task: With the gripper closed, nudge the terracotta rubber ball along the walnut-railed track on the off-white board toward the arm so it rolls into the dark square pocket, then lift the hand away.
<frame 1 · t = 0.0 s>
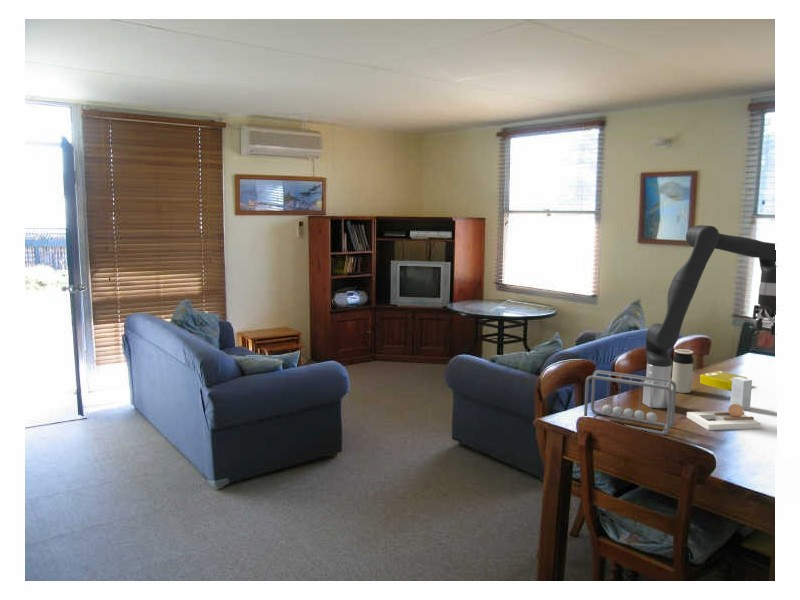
hand: (765, 332, 249), 29 cm above the table, fingers open, 8 cm apart
skincare box: (739, 408, 246), on the table
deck: (722, 422, 228), on the table
travel mug: (681, 391, 268), on the table
newton's cradle: (627, 424, 227), on the table
element tile: (723, 385, 279), on the table
ball: (735, 410, 228), point 4 cm above the table, touching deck
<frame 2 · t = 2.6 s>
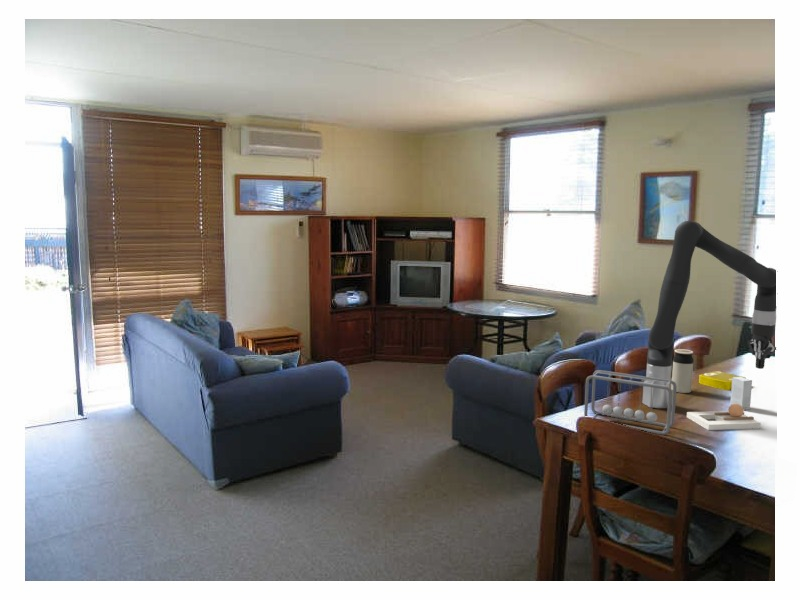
hand: (759, 368, 227), 21 cm above the table, fingers closed
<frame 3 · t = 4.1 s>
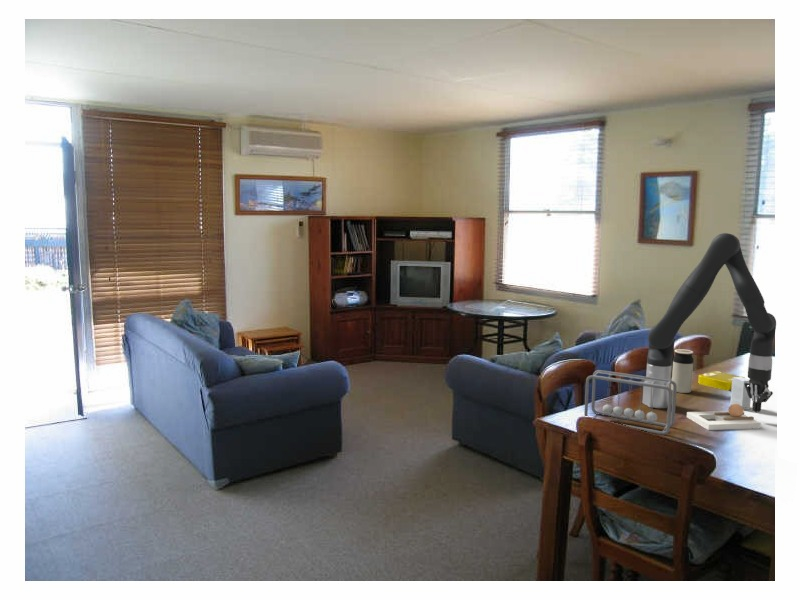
hand: (756, 411, 229), 4 cm above the table, fingers closed
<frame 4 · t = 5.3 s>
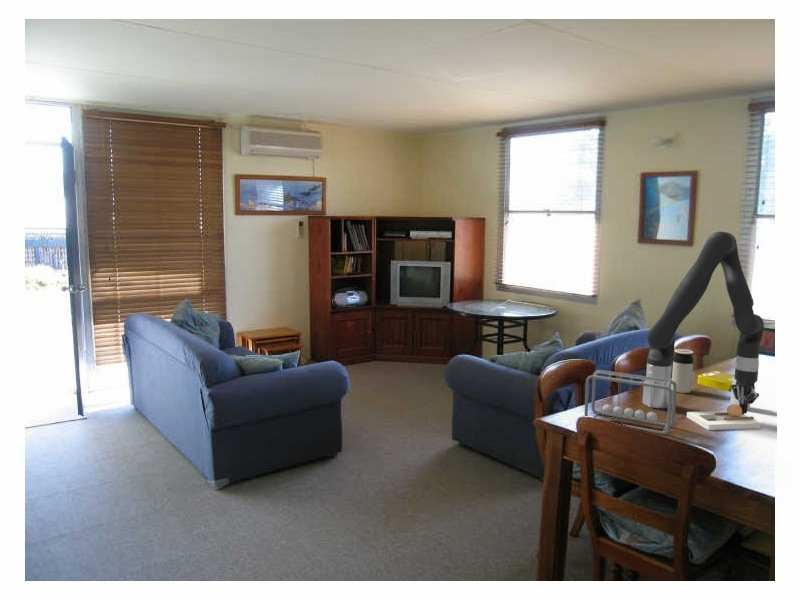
hand: (742, 412, 229), 3 cm above the table, fingers closed
ball: (734, 410, 228), point 4 cm above the table, tilted 13°, touching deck
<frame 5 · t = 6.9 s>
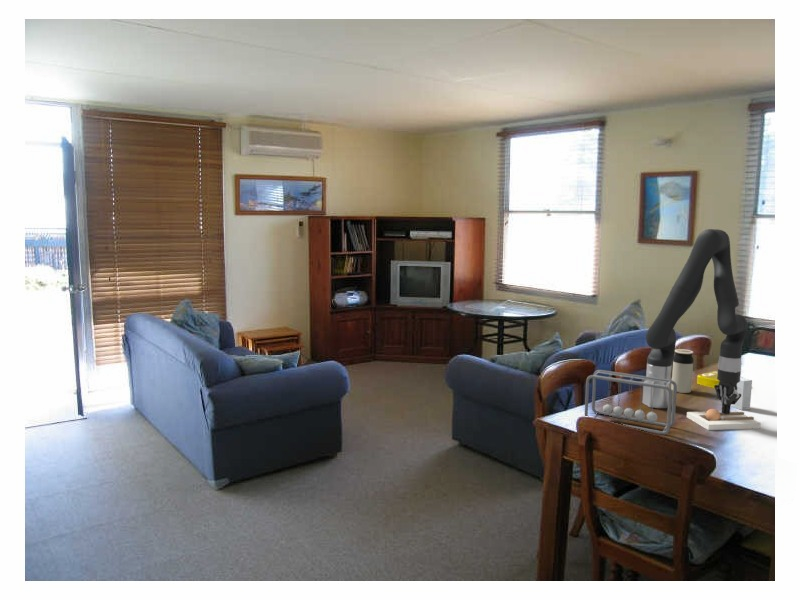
hand: (725, 413, 228), 3 cm above the table, fingers closed
ball: (712, 415, 228), point 3 cm above the table, tilted 142°, touching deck
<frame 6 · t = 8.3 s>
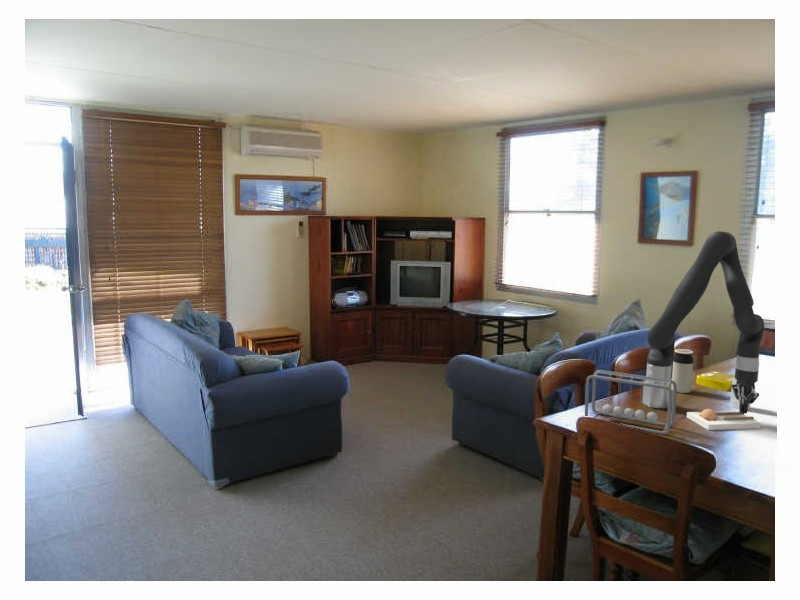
hand: (743, 412, 228), 4 cm above the table, fingers closed
ball: (708, 415, 228), point 3 cm above the table, tilted 107°, touching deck
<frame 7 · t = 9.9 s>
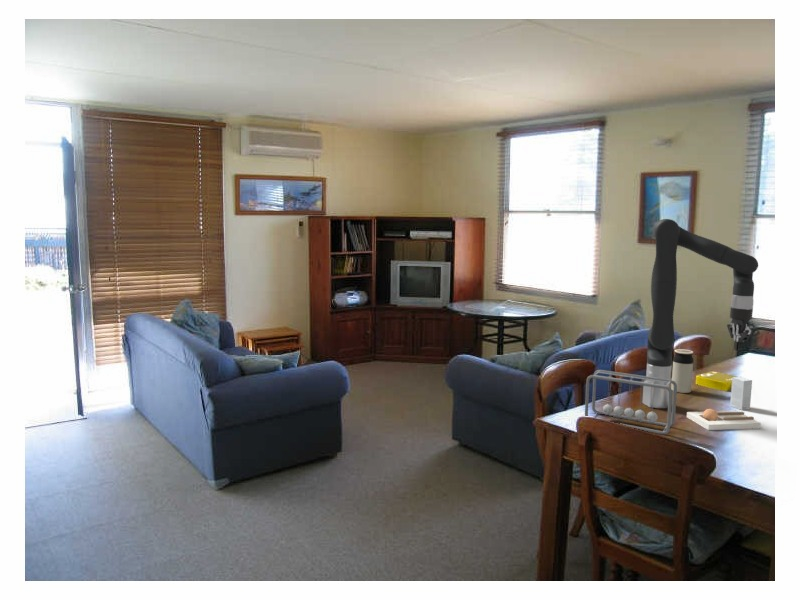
hand: (737, 350, 237), 25 cm above the table, fingers closed
ball: (710, 415, 228), point 3 cm above the table, tilted 122°, touching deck
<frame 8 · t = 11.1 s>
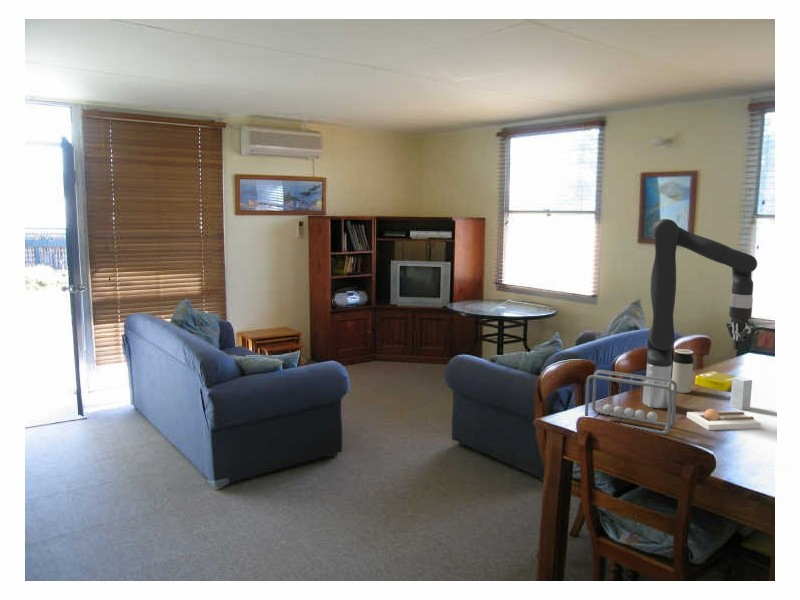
hand: (737, 349, 238), 25 cm above the table, fingers closed
ball: (711, 415, 228), point 3 cm above the table, tilted 133°, touching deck
at the end: ball 0.8 cm from the target spot on the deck, point 2.7 cm above the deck's base; ball point 2.7 cm above the table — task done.
